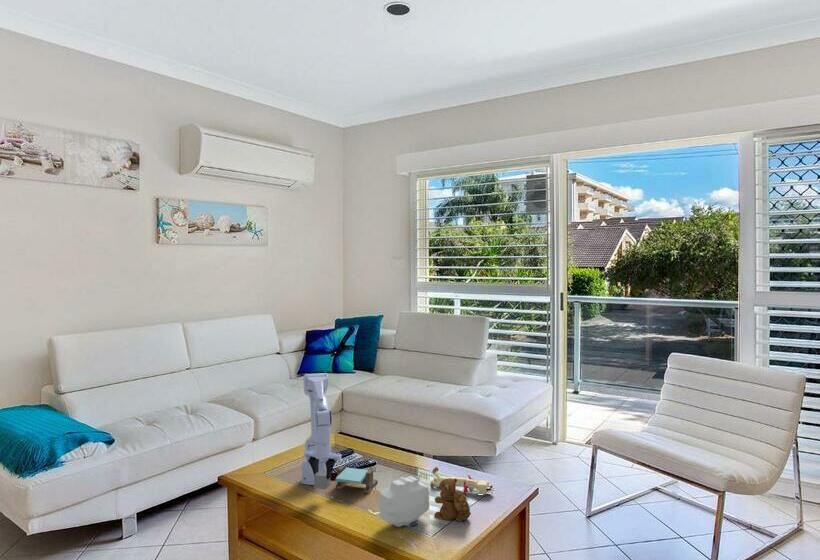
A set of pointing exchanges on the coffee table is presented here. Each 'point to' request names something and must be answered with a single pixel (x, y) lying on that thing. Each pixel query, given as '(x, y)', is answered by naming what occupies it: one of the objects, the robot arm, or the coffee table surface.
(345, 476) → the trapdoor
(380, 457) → the coffee table surface
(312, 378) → the robot arm
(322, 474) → the stone
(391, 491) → the grey rounded lump
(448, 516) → the stuffed squirrel
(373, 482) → the trapdoor frame
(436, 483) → the cat figure
